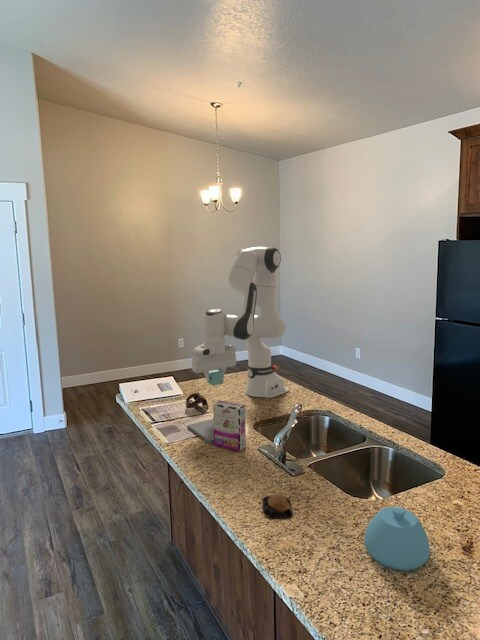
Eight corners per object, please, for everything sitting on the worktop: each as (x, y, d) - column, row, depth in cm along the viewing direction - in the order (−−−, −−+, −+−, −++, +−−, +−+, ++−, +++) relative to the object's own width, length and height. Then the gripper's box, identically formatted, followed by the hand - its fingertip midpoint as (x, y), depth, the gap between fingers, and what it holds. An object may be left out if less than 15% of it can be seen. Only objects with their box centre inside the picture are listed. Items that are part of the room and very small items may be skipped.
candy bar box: (246, 447, 170) (246, 404, 167) (240, 452, 166) (240, 408, 163) (220, 441, 175) (219, 399, 172) (213, 446, 171) (212, 403, 168)
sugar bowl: (353, 556, 111) (355, 512, 109) (377, 526, 123) (379, 486, 121) (417, 585, 102) (421, 537, 100) (436, 549, 114) (440, 506, 112)
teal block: (217, 380, 201) (216, 369, 200) (223, 383, 197) (223, 372, 196) (207, 382, 199) (206, 371, 198) (213, 385, 194) (212, 374, 194)
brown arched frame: (210, 412, 205) (202, 399, 202) (191, 421, 206) (183, 408, 202) (208, 397, 216) (200, 384, 213) (190, 405, 217) (182, 393, 213)
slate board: (217, 420, 195) (217, 417, 195) (240, 435, 180) (240, 432, 180) (187, 427, 187) (187, 425, 187) (209, 443, 173) (209, 440, 172)
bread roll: (259, 500, 136) (259, 489, 136) (288, 499, 137) (288, 487, 136) (264, 522, 126) (264, 509, 125) (295, 520, 126) (295, 508, 126)
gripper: (231, 343, 203) (231, 373, 206) (189, 349, 192) (190, 381, 195) (239, 345, 198) (239, 376, 201) (197, 352, 187) (197, 385, 189)
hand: (215, 379), depth 198 cm, fingers closed on teal block, 5 cm apart
